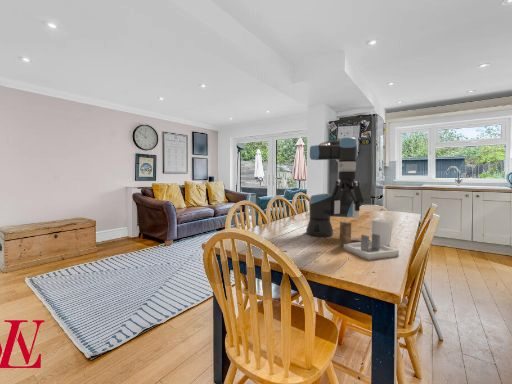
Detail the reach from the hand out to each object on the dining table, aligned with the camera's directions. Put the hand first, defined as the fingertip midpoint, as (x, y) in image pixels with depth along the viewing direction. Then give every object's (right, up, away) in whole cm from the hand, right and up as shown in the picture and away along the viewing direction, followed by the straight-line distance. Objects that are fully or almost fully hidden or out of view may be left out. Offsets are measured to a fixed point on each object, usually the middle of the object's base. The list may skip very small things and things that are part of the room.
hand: (345, 215), depth 125 cm
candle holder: (+20, -15, +7) cm, 26 cm away
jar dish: (+8, -16, -7) cm, 19 cm away
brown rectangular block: (0, -15, +1) cm, 15 cm away
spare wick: (+8, -15, +8) cm, 19 cm away
